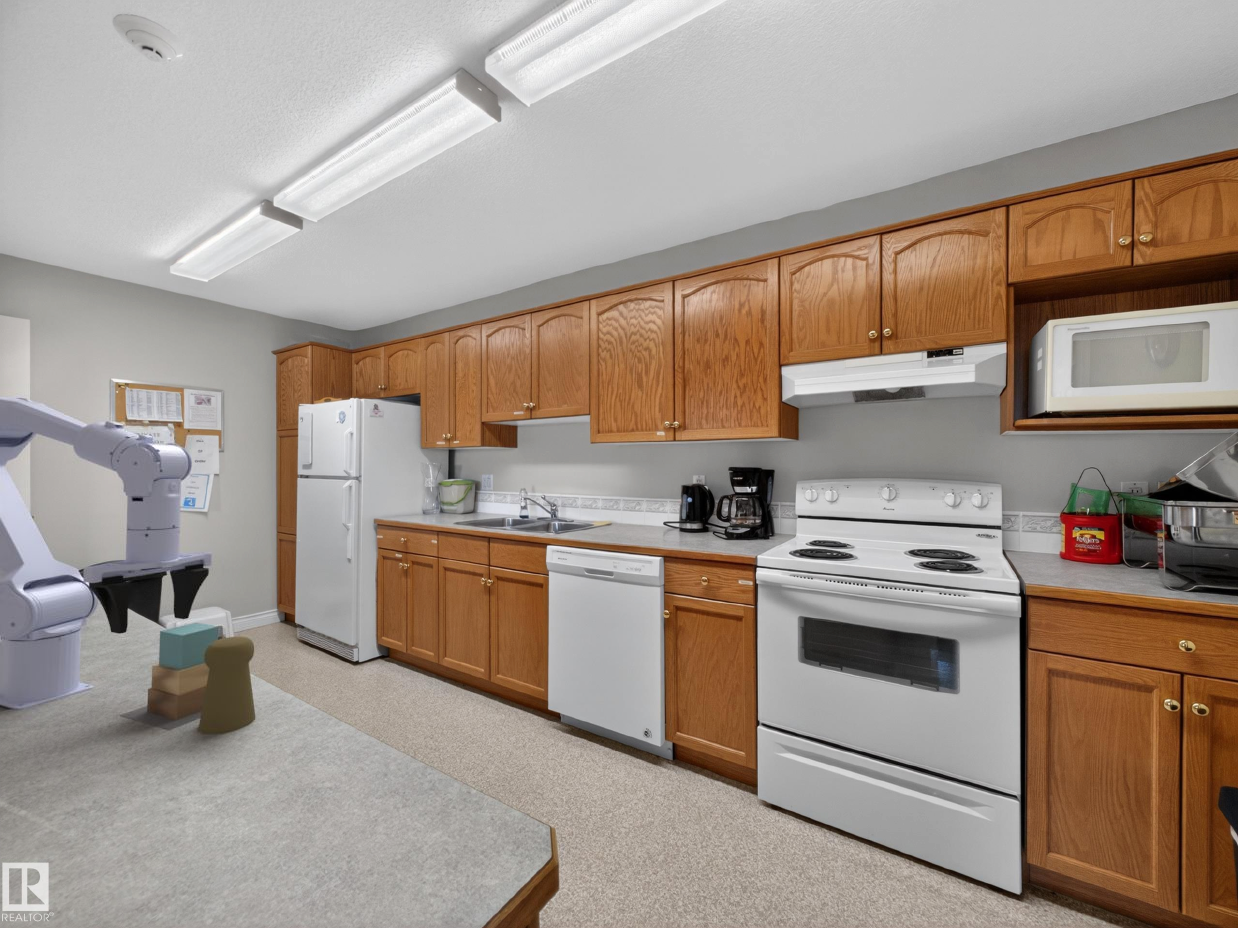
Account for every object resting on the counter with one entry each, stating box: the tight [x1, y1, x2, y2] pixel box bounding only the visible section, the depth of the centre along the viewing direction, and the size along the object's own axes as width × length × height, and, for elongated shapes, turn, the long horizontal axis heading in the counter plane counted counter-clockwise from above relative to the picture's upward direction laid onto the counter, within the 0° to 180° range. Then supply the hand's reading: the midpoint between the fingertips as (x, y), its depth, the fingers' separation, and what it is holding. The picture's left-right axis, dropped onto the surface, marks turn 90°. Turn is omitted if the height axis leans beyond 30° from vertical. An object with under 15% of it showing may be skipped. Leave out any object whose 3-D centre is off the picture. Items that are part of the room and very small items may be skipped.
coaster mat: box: [119, 705, 202, 731], centre depth 73 cm, size 10×10×1 cm
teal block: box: [158, 622, 219, 670], centre depth 73 cm, size 4×4×4 cm
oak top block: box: [151, 663, 209, 695], centre depth 73 cm, size 6×6×3 cm
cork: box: [197, 636, 256, 735], centre depth 69 cm, size 6×6×11 cm
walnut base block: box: [146, 686, 206, 720], centre depth 73 cm, size 6×6×3 cm
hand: (151, 624), depth 76 cm, fingers open, 7 cm apart
